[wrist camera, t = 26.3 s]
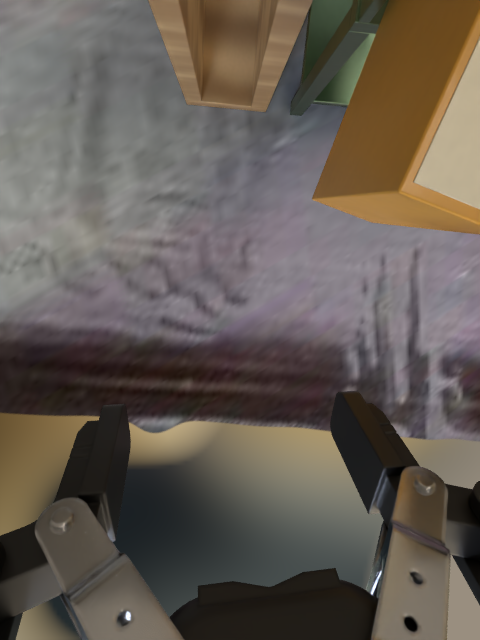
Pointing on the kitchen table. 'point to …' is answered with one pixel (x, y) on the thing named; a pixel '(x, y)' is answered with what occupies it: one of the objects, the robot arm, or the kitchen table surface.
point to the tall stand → (229, 47)
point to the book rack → (336, 50)
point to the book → (413, 122)
